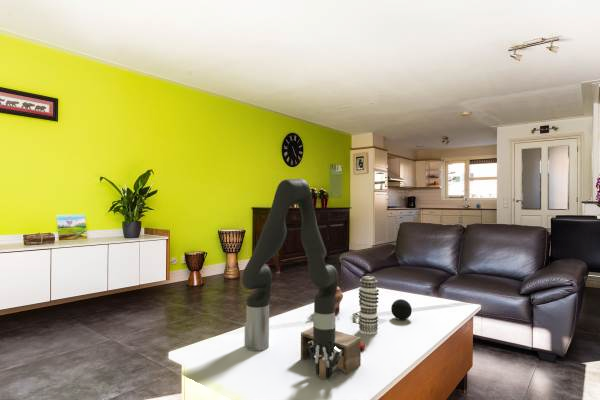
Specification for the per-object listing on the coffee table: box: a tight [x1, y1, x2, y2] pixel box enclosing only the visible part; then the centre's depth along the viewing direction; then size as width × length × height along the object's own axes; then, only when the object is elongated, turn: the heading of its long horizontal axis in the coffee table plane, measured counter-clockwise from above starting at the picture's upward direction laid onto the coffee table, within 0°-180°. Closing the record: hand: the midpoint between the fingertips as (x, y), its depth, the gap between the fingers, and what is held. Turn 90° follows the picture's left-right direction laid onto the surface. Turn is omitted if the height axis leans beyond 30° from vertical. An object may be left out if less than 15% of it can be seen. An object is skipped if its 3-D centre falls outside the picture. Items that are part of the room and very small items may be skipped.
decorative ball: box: [390, 298, 412, 321], centre depth 184 cm, size 10×10×10 cm
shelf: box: [300, 327, 362, 376], centre depth 134 cm, size 20×10×10 cm, turn 52°
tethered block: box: [318, 348, 344, 380], centre depth 127 cm, size 5×15×6 cm, turn 142°
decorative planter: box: [335, 286, 344, 315], centre depth 192 cm, size 20×12×14 cm, turn 141°
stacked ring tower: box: [358, 275, 380, 336], centre depth 166 cm, size 9×9×25 cm
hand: (324, 375), depth 122 cm, fingers closed on tethered block, 3 cm apart
